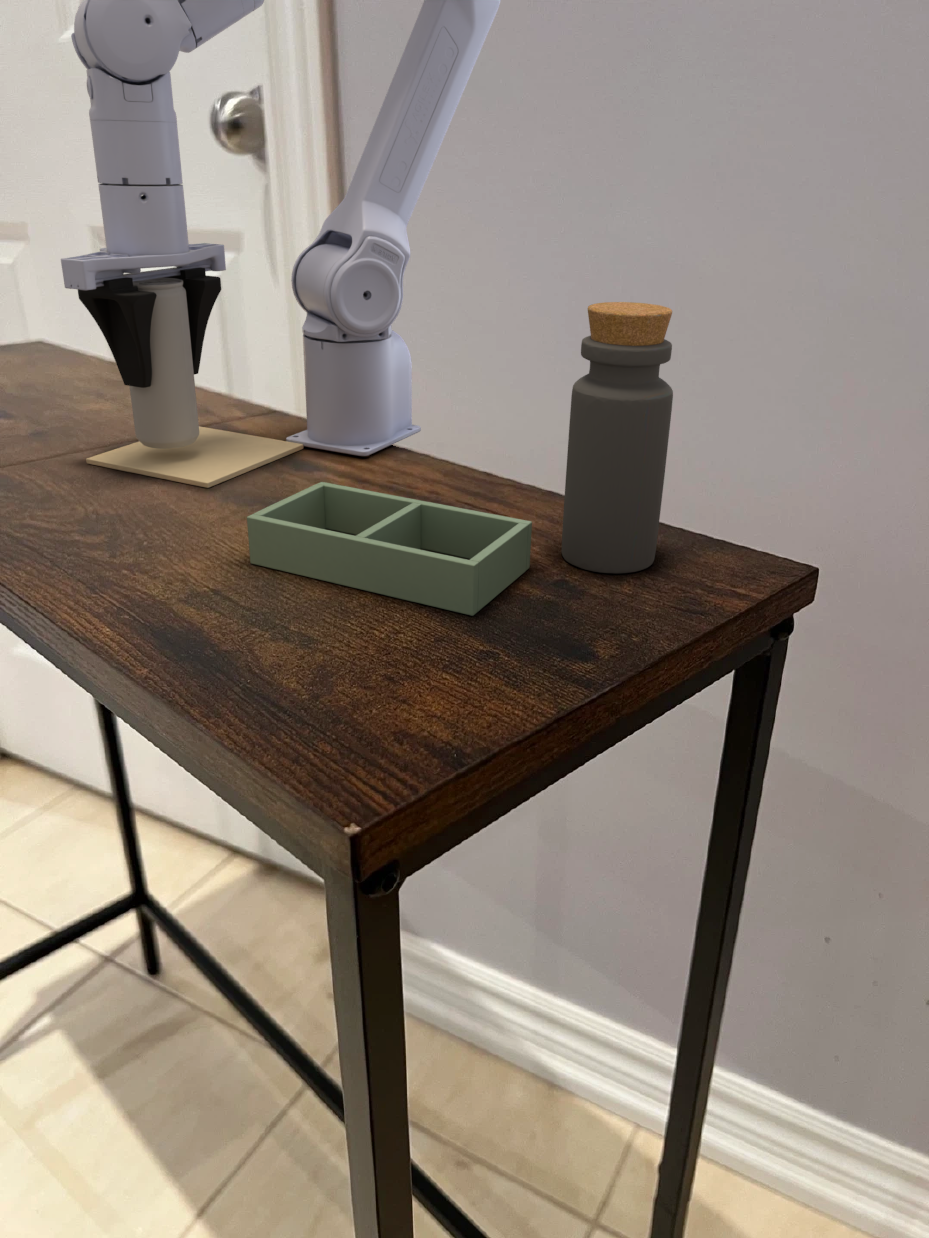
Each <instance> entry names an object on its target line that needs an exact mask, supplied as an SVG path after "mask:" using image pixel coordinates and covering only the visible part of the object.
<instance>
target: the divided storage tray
mask: <svg viewBox="0 0 929 1238" xmlns="http://www.w3.org/2000/svg"><path fill="white" fill-rule="evenodd" d="M246 524H247V538H248V549H249V550H248V552H249V562H250V564H251V565H255V566H260V567H265V568H268V569H273V570H278V571H281V572H285V573H289V574H294V575H298V576H303V577H307V578H311V579H316V580H319V581H324V582H327V583H332V584H336V585H339V586H344V587H349V588H353V589H358V590H361V591H366V592H370V593H375V594H378V595H382V596H387V597H392V598H395V599H400V600H403V601H408V602H413V603H417V604H421V605H424V606H430V607H433V608H437V609H441V610H446V611H451V612H455V613H459V614H462V615H463V614H464V615H468V616H472V617H473V616H475V615H476V614H477V613H478V612H479V611H481V610H482V609H483V608H484V607H485V606H487V605H488V604H489V603H490V602H491V601H492V600H493V599H495V598H496V597H497V596H498V595H499V594H500V593H502V592H503V591H504V590H505V589H506V588H508V587H509V586H510V585H511V584H512V583H514V582H515V581H516V580H517V579H518V578H519V577H520V576H522V575H523V574H524V573H525V572H526V571H528V570H529V569H530V566H531V551H532V550H531V549H532V534H533V533H532V530H533V522H532V520H526V519H525V520H524V519H520V518H515V517H511V516H505V515H500V514H494V513H489V512H484V511H479V510H473V509H469V508H468V509H467V508H463V507H457V506H452V505H447V504H443V503H437V502H431V501H425V500H420V499H415V498H409V497H405V496H400V495H394V494H389V493H383V492H378V491H373V490H368V489H362V488H357V487H352V486H346V485H342V484H341V485H340V484H336V483H330V482H325V481H319V482H318V483H315V484H313V485H311V486H309V487H307V488H304V489H302V490H301V491H298V492H297V493H293V494H292V495H290V496H288V497H286V498H284V499H281V500H279V501H277V502H275V503H273V504H270V505H268V506H266V507H264V508H262V509H260V510H258V511H256V512H253V513H252V514H250V515H247V516H246Z"/></svg>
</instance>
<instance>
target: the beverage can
mask: <svg viewBox="0 0 929 1238" xmlns="http://www.w3.org/2000/svg"><path fill="white" fill-rule="evenodd" d="M133 286H138V290H139V291H148V292H154V293H156V295H157V296H156V300H155V304H154V308H153V314H152V320H151V331H150V349H151V363H152V380H151V386H150V387H146V388H140V387H134V386H128V387H129V393H130V402H131V409H132V410H131V411H132V417H133V426H134V434H135V438H136V439H137V440H138V442H139V441H140V442H141V443H142V444H143V445H144V446H147V447H151V448H158V449H169V448H179V447H184V446H187V445H190V444H192V443H194V442H195V441H196V439H197V438H198V436H199V426H200V423H199V413H198V403H197V393H196V381H195V375H194V370H193V360H192V350H191V339H190V329H189V318H188V308H187V298H186V290H185V289H184V287H183V280H180V279H175V278H156V279H149V280H142V281H135V282H133Z"/></svg>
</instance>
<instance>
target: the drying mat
mask: <svg viewBox="0 0 929 1238" xmlns="http://www.w3.org/2000/svg"><path fill="white" fill-rule="evenodd" d="M301 450H304V446H303V444H299V443H293V442H287V441H286V440H281V439H276V438H275V439H274V438H270V437H265V436H264V437H263V436H257V435H252V434H246V433H242V432H241V433H240V432H235V431H228V430H224V429H223V430H222V429H217V428H212V427H205V426H200V425H199V436H198V438H197V439H196V441H195V442H194V443H192V444H190V445H187V446H184V447H179V448H169V449H158V448H151V447H147V446H144V445H143V444H142V443H141V442H140V441H139V440H138V441H136V442H133V443H130V444H127V445H124V446H120V447H117V448H115V449H111V450H108V451H106V452H102V453H99V454H97V455H96V454H95V455H93V456H90V457H86V458H85V460H86V464H88V465H93V466H98V467H103V468H108V469H112V470H118V471H122V472H127V473H132V474H138V475H142V476H146V477H152V478H156V479H162V480H166V481H171V482H177V483H182V484H187V485H191V486H196V487H202V488H205V489H209V488H212V487H214V486H216V485H218V484H221V483H224V482H226V481H229V480H231V479H233V478H235V477H238V476H241V475H243V474H245V473H248V472H250V471H253V470H255V469H258V468H260V467H263V466H265V465H267V464H271V463H272V462H274V461H277V460H279V459H282V458H285V457H288V456H289V455H291V454H294V453H297V452H300V451H301Z"/></svg>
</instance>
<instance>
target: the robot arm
mask: <svg viewBox="0 0 929 1238" xmlns="http://www.w3.org/2000/svg"><path fill="white" fill-rule="evenodd" d="M501 1H502V0H423V2H422V5H421V8H420V9H419V13H418V15H417V18H416V20H415V21H414V25H413V27H412V30H411V32H410V34H409V37H408V40H407V43H406V45H405V47H404V49H403V52H402V55H401V57H400V60H399V62H398V64H397V67H396V69H395V72H394V74H393V77H392V78H391V81H390V85H389V86H388V89H387V92H386V94H385V97H384V99H383V101H382V104H381V107H380V108H379V112H378V114H377V117H376V119H375V121H374V124H373V126H372V129H371V132H370V134H369V136H368V139H367V142H366V144H365V146H364V148H363V151H362V154H361V156H360V158H359V161H358V164H357V166H356V168H355V171H354V173H353V176H352V179H351V180H350V183H349V186H348V187H347V191H346V193H345V196H344V198H343V199H342V200H341V202H340V203H339V204H338V205H337V206H336V207H335V208H334V210H332V211H331V213H329V215H328V216H327V217H326V218H325V219H324V221H323V223H322V226H321V228H320V231H319V233H318V235H317V236H316V238H315V239H314V241H313V242H312V243H311V244H309V245H308V246H307V247H306V248H305V249H303V250H302V252H300V253H299V255H298V257H297V258H296V260H295V262H294V264H293V267H292V270H291V279H290V282H291V288H292V294H293V296H294V299H295V301H296V303H298V305H299V306H300V308H301V309H302V310H303V311H304V312H305V313H306V317H305V320H304V323H303V324H302V327H301V332H302V348H303V349H302V352H303V372H304V389H305V391H304V392H305V411H306V429H304V430H301V431H299V432H297V433H294V434H292V435H288V436H287V437H286V438H285V441H287V442H293V443H299V444H303V447H306V448H311V449H317V450H323V451H328V452H335V453H341V454H346V455H352V456H358V457H369V456H370V455H372V454H375V453H377V452H379V451H381V450H383V449H385V448H388V447H390V446H392V445H395V444H396V443H399V442H400V441H402V440H405V439H407V438H409V437H411V436H413V435H415V434H418V433H420V432H421V431H422V427H421V426H420V425H418V424H413V372H412V371H413V362H412V356H411V351H410V350H409V347H408V345H407V343H406V341H405V340H404V338H403V337H402V336H401V335H400V334H399V333H398V332H396V331H394V330H393V328H392V324H393V323H394V322H395V321H396V319H397V318H398V316H399V314H400V312H401V309H402V306H403V302H404V301H403V300H404V276H405V271H406V269H407V266H408V264H409V262H410V258H411V254H412V253H411V246H410V241H409V236H408V229H407V227H408V225H409V222H410V220H411V218H412V215H413V213H414V210H415V208H416V207H417V203H418V201H419V199H420V196H421V194H422V191H423V189H424V187H425V184H426V182H427V180H428V177H429V175H430V172H431V170H432V168H433V165H434V163H435V161H436V158H437V156H438V153H439V151H440V148H441V147H442V144H443V142H444V139H445V137H446V134H447V132H448V130H449V127H450V124H451V123H452V120H453V117H454V116H455V113H456V110H457V108H458V106H459V104H460V101H461V99H462V96H463V94H464V92H465V89H466V87H467V85H468V82H469V79H470V77H471V75H472V72H473V70H474V67H475V65H476V63H477V61H478V58H479V56H480V54H481V51H482V48H483V46H484V44H485V42H486V39H487V36H488V34H489V31H490V30H491V27H492V25H493V22H494V20H495V18H496V15H497V13H498V10H499V8H500V4H501ZM264 3H265V0H82V1H81V2H80V4H79V5H78V9H77V11H76V13H75V17H74V22H73V32H72V33H71V35H70V37H71V43H72V45H73V49H74V52H75V53H76V55H77V58H78V59H79V60H80V62H81V63H82V65H83V67H84V68H85V69H86V89H87V94H88V96H89V99H90V100H89V101H90V107H89V110H88V117H89V123H90V130H91V140H92V147H93V154H94V155H93V156H94V162H95V171H96V176H97V177H96V178H97V183H98V192H99V201H100V209H101V216H102V217H101V218H102V225H103V231H104V239H105V247H100V248H99V251H95V252H90V253H86V254H81V255H75V256H69V257H62V258H60V263H61V264H60V265H61V271H62V277H63V284H64V288H65V289H67V290H69V289H70V290H77V296H78V299H79V301H80V302H81V304H82V305H83V306H84V307H85V309H86V310H87V311H88V313H89V314H90V316H91V317H92V318H93V320H94V321H95V323H96V324H97V326H98V328H99V330H100V332H101V333H102V335H103V338H104V339H105V341H106V343H107V345H108V348H109V349H110V352H111V355H112V356H113V359H114V361H115V364H116V366H117V369H118V371H119V374H120V377H121V379H122V383H123V384H124V385H123V386H128V387H129V386H134V387H140V388H146V387H150V386H151V380H152V363H151V349H150V331H151V320H152V314H153V308H154V304H155V300H156V296H157V295H156V293H154V292H148V291H139V290H138V286H133V282H135V281H142V280H149V279H156V278H175V279H180V280H183V287H184V289H185V290H186V298H187V308H188V318H189V329H190V339H191V350H192V360H193V370H194V376H195V375H199V371H200V365H201V361H202V352H203V346H204V340H205V335H206V330H207V326H208V322H209V319H210V316H211V314H212V311H213V309H214V306H215V303H216V301H217V300H218V298H219V296H220V294H221V291H222V280H221V277H220V276H215V275H206V272H225V271H226V270H227V266H226V264H227V263H226V253H225V245H224V244H223V243H222V244H221V243H208V242H201V243H190V242H189V233H188V224H187V222H188V221H187V213H186V212H187V211H186V202H185V192H184V191H185V190H184V183H183V175H182V174H183V173H182V163H181V152H180V140H179V131H178V119H177V112H176V111H175V107H174V97H173V96H174V95H173V87H172V75H171V71H172V69H173V68H174V66H175V64H176V62H177V59H178V57H179V54H180V52H182V53H187V54H189V53H192V52H193V51H194V50H196V49H198V48H199V47H201V46H202V45H204V44H205V43H207V42H208V41H210V40H212V39H213V38H215V37H216V36H218V35H219V34H221V33H222V32H223V31H225V30H227V29H228V28H230V27H231V26H232V25H235V24H236V23H237V22H239V21H241V20H242V19H243V18H245V17H246V16H248V15H249V14H251V13H253V12H255V11H256V10H258V9H259V8H260V7H262V6H263V5H264ZM152 268H153V269H152ZM155 268H159V269H155ZM141 269H152V270H145V271H142V270H141Z"/></svg>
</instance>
